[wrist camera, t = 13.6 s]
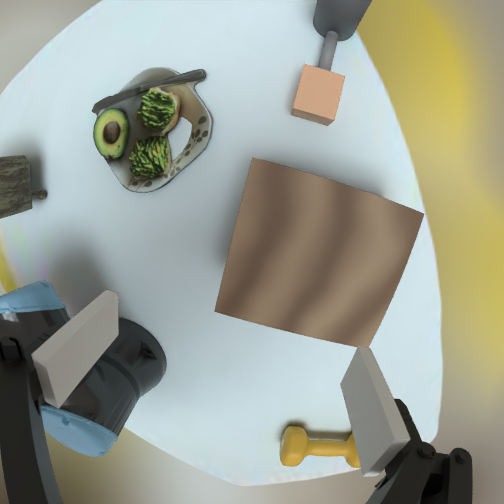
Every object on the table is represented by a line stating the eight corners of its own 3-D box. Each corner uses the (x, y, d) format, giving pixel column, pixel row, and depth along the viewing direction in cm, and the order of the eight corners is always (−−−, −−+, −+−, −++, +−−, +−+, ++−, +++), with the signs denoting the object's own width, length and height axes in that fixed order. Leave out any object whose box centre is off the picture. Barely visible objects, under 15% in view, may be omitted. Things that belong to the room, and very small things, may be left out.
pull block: (287, 114, 35) (289, 94, 25) (317, 4, 30) (325, -37, 19) (331, 126, 35) (349, 113, 25) (357, 16, 30) (376, -21, 19)
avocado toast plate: (179, 39, 33) (168, 27, 29) (247, 126, 37) (242, 121, 32) (86, 120, 38) (69, 118, 34) (140, 207, 41) (125, 212, 37)
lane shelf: (233, 270, 42) (214, 311, 30) (261, 160, 38) (252, 157, 26) (347, 301, 42) (367, 349, 30) (384, 198, 37) (424, 213, 25)
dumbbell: (374, 422, 50) (382, 451, 42) (358, 446, 52) (363, 473, 44) (287, 417, 50) (286, 448, 43) (277, 441, 53) (275, 471, 45)
